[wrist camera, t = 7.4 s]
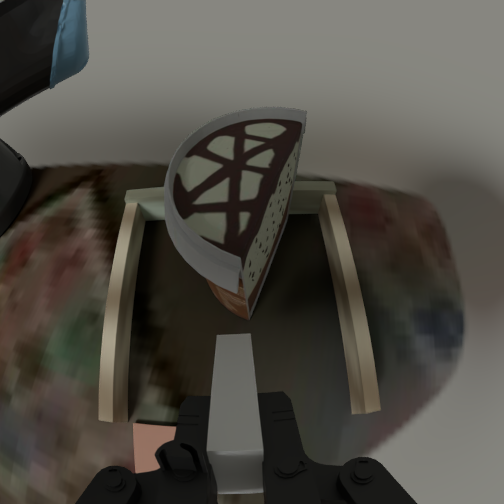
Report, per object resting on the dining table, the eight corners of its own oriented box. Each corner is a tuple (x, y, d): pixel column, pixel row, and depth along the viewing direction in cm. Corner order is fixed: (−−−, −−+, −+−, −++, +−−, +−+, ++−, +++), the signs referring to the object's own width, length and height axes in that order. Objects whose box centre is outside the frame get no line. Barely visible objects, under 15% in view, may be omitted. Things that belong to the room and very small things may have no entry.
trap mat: (134, 422, 16) (133, 423, 15) (254, 426, 16) (254, 426, 16) (137, 475, 14) (135, 476, 13) (258, 481, 14) (258, 482, 14)
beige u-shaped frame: (137, 212, 25) (127, 190, 22) (326, 204, 25) (333, 181, 23) (115, 420, 16) (95, 419, 13) (365, 411, 16) (384, 409, 14)
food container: (227, 188, 26) (219, 91, 18) (292, 206, 25) (308, 107, 17) (162, 308, 20) (105, 226, 12) (241, 340, 19) (234, 271, 11)
